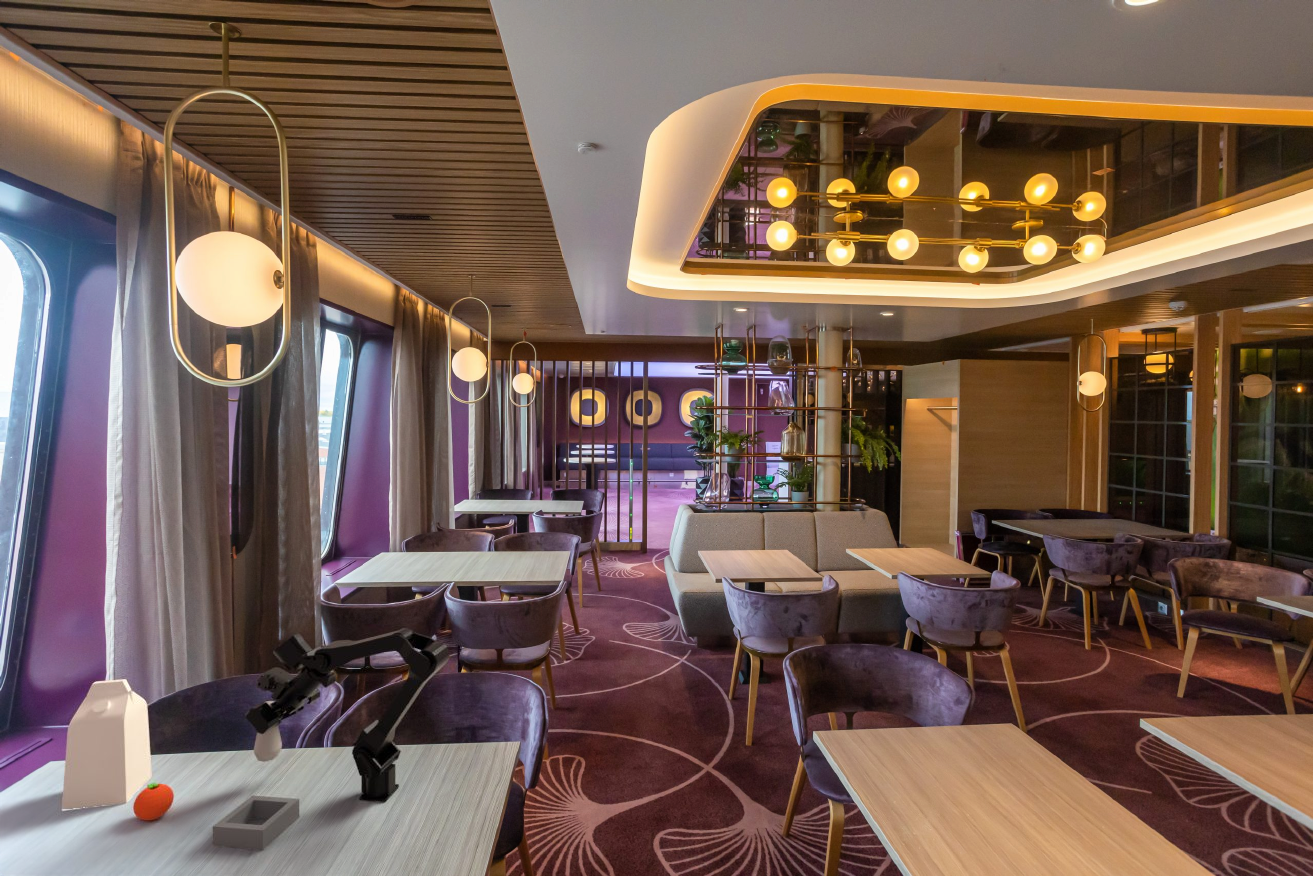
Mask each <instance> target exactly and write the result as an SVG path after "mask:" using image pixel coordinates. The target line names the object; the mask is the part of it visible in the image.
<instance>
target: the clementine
mask: <svg viewBox="0 0 1313 876" xmlns="http://www.w3.org/2000/svg"><path fill="white" fill-rule="evenodd" d="M174 797H175V795H174V791H173V789H172V787H170V786H169V785H168V784H165V783H157V782H152V783H149V784H147V787H145V788H144V789H142V790H141V791H140V792H139V794H138V795H136V798H135V799H134V803H133V806H132V808H133V813H134V816H136V818H138V819H139V820H142V821H153V820H156V819H158V818H160V817H162V816H163V815H164V814H167V812H168V810H170V808H171V807H172V805H173V803H174Z"/></svg>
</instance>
